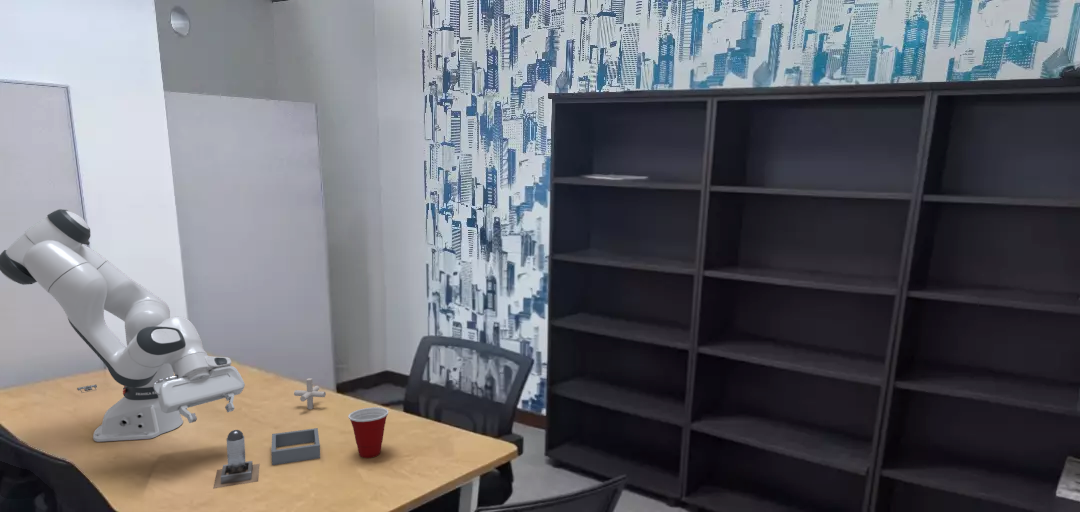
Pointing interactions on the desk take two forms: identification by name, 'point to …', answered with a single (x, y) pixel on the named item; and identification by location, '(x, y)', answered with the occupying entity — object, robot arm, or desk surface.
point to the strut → (236, 452)
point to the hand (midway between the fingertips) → (212, 415)
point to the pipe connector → (309, 393)
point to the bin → (295, 452)
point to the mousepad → (87, 388)
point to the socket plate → (237, 476)
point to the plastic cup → (369, 430)
